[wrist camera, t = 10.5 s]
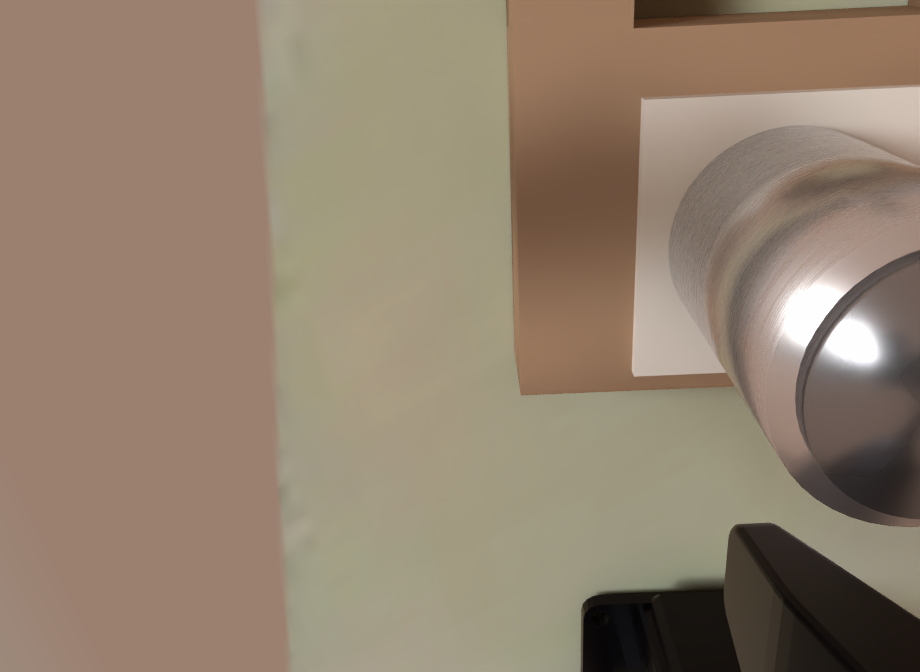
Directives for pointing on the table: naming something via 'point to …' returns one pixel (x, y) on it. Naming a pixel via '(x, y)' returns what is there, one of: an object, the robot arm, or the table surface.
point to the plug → (815, 307)
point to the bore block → (663, 161)
